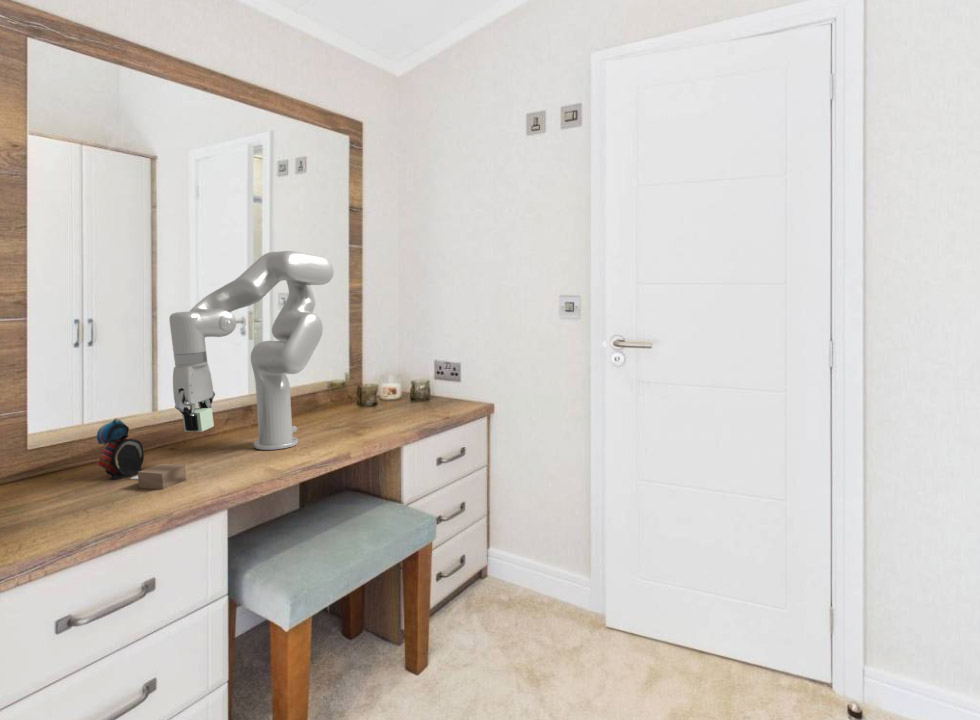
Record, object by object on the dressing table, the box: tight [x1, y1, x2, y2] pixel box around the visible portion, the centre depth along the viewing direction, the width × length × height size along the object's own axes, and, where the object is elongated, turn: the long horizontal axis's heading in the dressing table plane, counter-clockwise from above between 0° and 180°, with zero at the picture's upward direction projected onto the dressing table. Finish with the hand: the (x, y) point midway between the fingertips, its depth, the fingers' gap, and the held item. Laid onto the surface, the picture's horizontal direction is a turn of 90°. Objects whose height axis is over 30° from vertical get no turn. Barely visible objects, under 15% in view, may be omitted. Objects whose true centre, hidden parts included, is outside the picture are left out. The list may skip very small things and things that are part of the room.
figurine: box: [96, 417, 145, 481], centre depth 145 cm, size 10×7×15 cm
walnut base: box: [137, 463, 187, 490], centre depth 138 cm, size 7×7×4 cm
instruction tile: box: [130, 474, 138, 481], centre depth 145 cm, size 8×5×1 cm, turn 171°
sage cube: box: [182, 407, 215, 433], centre depth 151 cm, size 5×5×5 cm
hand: (199, 426), depth 151 cm, fingers closed on sage cube, 5 cm apart
